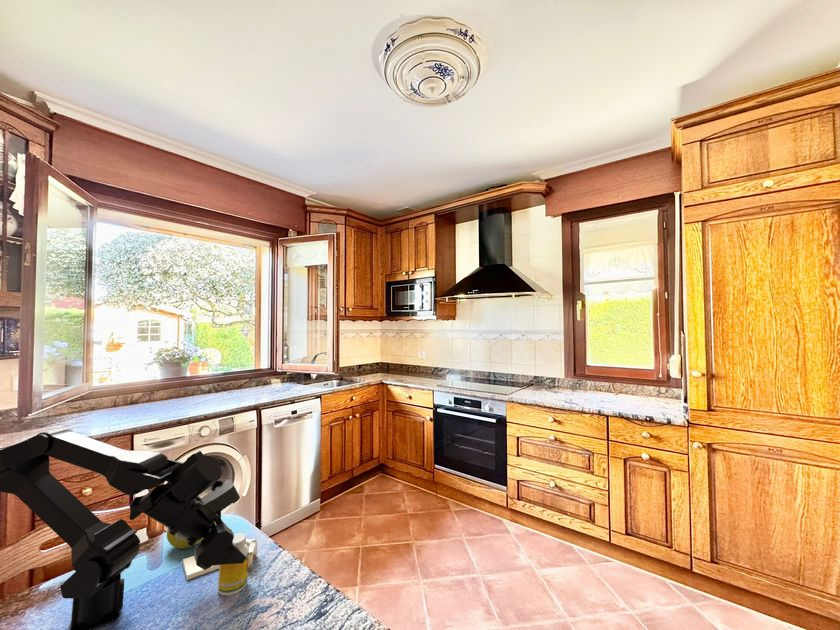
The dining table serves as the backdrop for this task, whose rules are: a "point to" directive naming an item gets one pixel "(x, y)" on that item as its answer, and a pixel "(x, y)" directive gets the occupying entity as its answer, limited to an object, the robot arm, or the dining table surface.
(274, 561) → the dining table surface
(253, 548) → the bent steel bracket
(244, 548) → the supplement bottle
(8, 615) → the dining table surface
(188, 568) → the cream coaster
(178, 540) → the lemon
